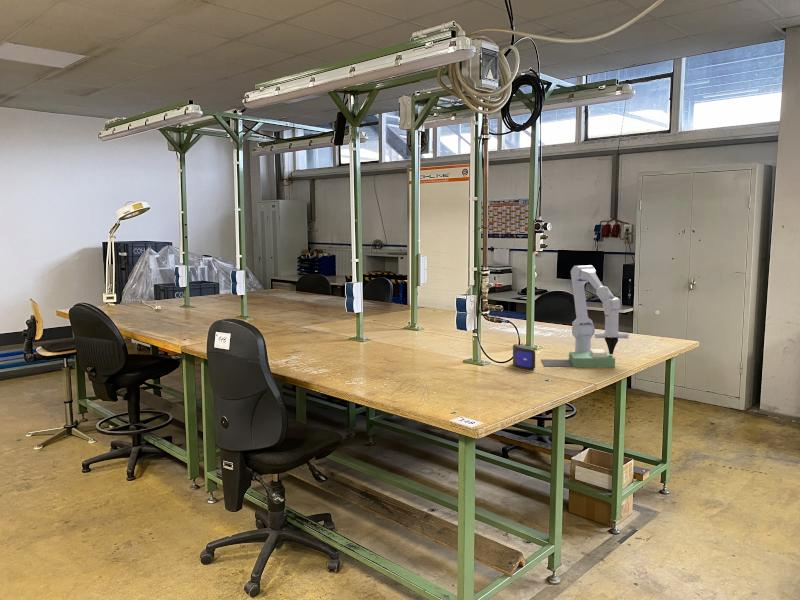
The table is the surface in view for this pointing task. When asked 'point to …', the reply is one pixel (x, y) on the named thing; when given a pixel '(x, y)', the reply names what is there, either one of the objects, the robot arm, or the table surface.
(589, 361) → the block
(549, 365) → the mat
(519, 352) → the framed blue square panel
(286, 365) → the table surface
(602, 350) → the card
